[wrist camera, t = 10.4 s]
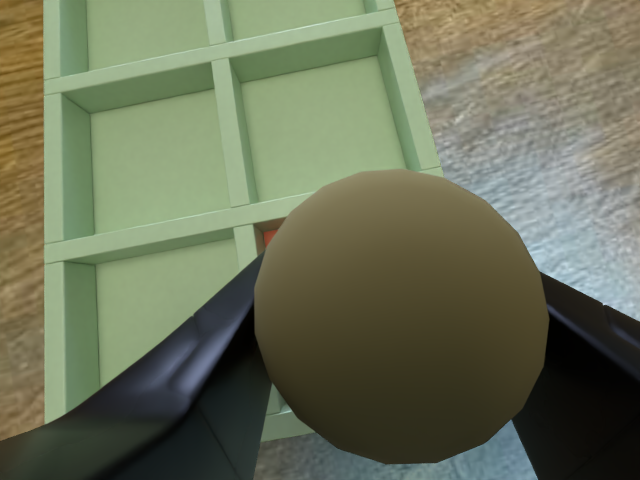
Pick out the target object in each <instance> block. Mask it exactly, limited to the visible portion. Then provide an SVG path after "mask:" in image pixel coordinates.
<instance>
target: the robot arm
mask: <svg viewBox="0 0 640 480" xmlns="http://www.w3.org/2000/svg"><path fill="white" fill-rule="evenodd" d="M265 251H266V249H265V250H264V251H263V252H262V253H261V254H260V255H258V256H257V257H256V258H255V259H254V260H253V261H252V262H251V263H250V264H248V265H247V266H246V267H245V268H244V269H243V270H242V271H241V272H239V273H238V274H237V275H236V276H235V277H234V278H233V279H232V280H231V281H229V282H228V283H227V284H226V285H225V286H224V287H223V288H222V289H220V290H219V291H218V292H217V293H216V294H215V295H214V296H213V297H212V298H210V299H209V300H208V301H207V302H206V303H205V304H204V305H203V306H201V307H200V308H199V309H198V310H197V311H196V312H195V313H194V314H193V316H194V317H193V316H190V317H189V318H188V319H187V320H186V321H185V322H183V323H182V324H181V325H180V326H179V327H178V328H177V329H175V330H174V331H173V332H172V333H171V334H170V335H168V336H167V337H166V338H165V339H164V340H163V341H161V342H160V343H159V344H158V345H156V346H155V347H154V348H152V349H151V350H150V351H149V352H147V353H146V354H145V355H144V356H142V357H141V358H140V359H139V360H137V361H136V362H135V363H133V364H132V365H131V366H129V367H128V368H127V369H125V370H124V371H123V372H121V373H120V374H119V375H118V376H116V377H115V378H114V379H112V380H111V381H110V382H108V383H107V384H106V385H104V386H103V387H102V388H101V389H99V390H98V391H97V392H95V393H94V394H93V395H91V396H90V397H89V398H87V399H86V400H85V401H83V402H82V403H81V404H79V405H78V406H76V407H75V408H74V409H72V410H71V411H69V412H67V413H66V414H64V415H62V416H61V417H59V418H57V419H55V420H53V421H51V422H49V423H47V424H45V425H43V426H40V427H38V428H36V429H33V430H31V431H28V432H25V433H22V434H19V435H16V436H13V437H10V438H8V439H5V440H2V441H0V480H253V476H254V471H255V466H256V461H257V456H258V451H259V446H260V441H261V436H262V432H263V427H264V422H265V417H266V412H267V407H268V402H269V397H270V392H271V387H272V382H271V380H270V379H269V376H268V373H267V370H266V367H265V364H264V361H263V357H262V354H261V351H260V348H259V345H258V342H257V339H256V336H255V308H254V287H255V284H256V281H257V277H258V274H259V271H260V268H261V264H262V261H263V258H264V254H265ZM539 272H540V271H539ZM540 275H541V280H542V285H543V290H544V295H545V300H546V305H547V310H548V315H549V326H548V334H547V342H546V351H545V359H544V366H543V368H542V370H541V372H540V374H539V376H538V378H537V380H536V382H535V384H534V386H533V388H532V390H531V392H530V394H529V396H528V398H527V400H526V402H525V404H524V406H523V408H522V410H520V411H519V412H518V413H517V414H516V415H515V416H514V417H513V418H512V419H511V420H512V422H513V424H514V426H515V429H516V431H517V433H518V435H519V438H520V440H521V442H522V444H523V447H524V449H525V451H526V453H527V456H528V458H529V460H530V462H531V465H532V467H533V469H534V471H535V473H536V476H537V478H538V480H640V322H639V321H637V320H635V319H633V318H631V317H629V316H627V315H625V314H623V313H621V312H619V311H617V310H615V309H613V308H611V307H609V306H607V305H603V304H602V303H601V302H599V301H597V300H595V299H593V298H591V297H589V296H587V295H585V294H583V293H581V292H579V291H577V290H576V289H574V288H572V287H570V286H568V285H566V284H564V283H562V282H560V281H558V280H556V279H554V278H552V277H550V276H548V275H546V274H544V273H542V272H540Z"/></svg>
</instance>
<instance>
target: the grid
mask: <svg viewBox="0 0 640 480" xmlns="http://www.w3.org/2000/svg"><path fill="white" fill-rule="evenodd" d="M43 1H44V96H45V97H44V243H45V244H46V245H44V264H46V265H45V266H44V339H45V424H47V423H49V422H51V421H53V420H55V419H57V418H59V417H61V416H62V415H64V414H66V413H67V412H69V411H71V410H72V409H74V408H75V407H76V406H78V405H79V404H81V403H82V402H83V401H85V400H86V399H87V398H89V397H90V396H91V395H93V394H94V393H95V392H97V391H98V390H99V389H101V388H102V387H103V386H104V385H106V384H107V383H108V382H110V381H111V380H112V379H114V378H115V377H116V376H118V375H119V374H120V373H121V372H123V371H124V370H125V369H127V368H128V367H129V366H131V365H132V364H133V363H135V362H136V361H137V360H139V359H140V358H141V357H142V356H144V355H145V354H146V353H147V352H149V351H150V350H151V349H152V348H154V347H155V346H156V345H158V344H159V343H160V342H161V341H163V340H164V339H165V338H166V337H167V336H168V335H170V334H171V333H172V332H173V331H174V330H175V329H177V328H178V327H179V326H180V325H181V324H182V323H183V322H185V321H186V320H187V319H188V318H189V317H190V316H193V314H194V313H195V312H196V311H197V310H198V309H199V308H200V307H201V306H203V305H204V304H205V303H206V302H207V301H208V300H209V299H210V298H212V297H213V296H214V295H215V294H216V293H217V292H218V291H219V290H220V289H222V288H223V287H224V286H225V285H226V284H227V283H228V282H229V281H231V280H232V279H233V278H234V277H235V276H236V275H237V274H238V273H239V272H241V271H242V270H243V269H244V268H245V267H246V266H247V265H248V264H250V263H251V262H252V261H253V260H254V259H255V258H256V257H257V256H258V255H260V254H261V253H262V252H263V251H264V250H265V249H266V248H267V245H268V244H269V243H270V241H271V240H272V238H273V237H274V235H275V234H276V232H277V231H278V229H279V228H280V226H281V225H282V224H283V222H284V221H285V219H286V218H287V216H288V215H289V213H290V212H291V211H292V210H293V209H295V208H296V207H297V206H298V205H300V204H301V203H302V202H303V201H305V200H306V199H307V198H309V197H310V196H311V195H312V194H314V193H315V192H316V191H317V190H319V189H320V188H321V187H323V186H325V185H327V184H330V183H333V182H335V181H338V180H340V179H343V178H346V177H348V176H351V175H353V174H356V173H359V172H362V171H376V170H389V169H407V170H411V171H416V172H420V173H425V174H430V175H434V176H439V177H443V178H444V175H443V171H442V168H441V164H440V160H439V157H438V153H437V150H436V146H435V143H434V139H433V136H432V133H431V129H430V126H429V122H428V119H427V115H426V112H425V108H424V105H423V101H422V98H421V94H420V91H419V87H418V84H417V80H416V77H415V73H414V70H413V66H412V63H411V59H410V56H409V52H408V49H407V45H406V42H405V39H404V35H403V32H402V28H401V25H400V22H399V18H398V15H397V11H396V9H395V4H394V1H393V0H43ZM193 317H194V316H193ZM310 433H316V432H315V431H314V430H312V429H311V428H310V427H308V426H307V425H306V424H304V423H303V422H302V421H300V420H299V419H298V418H297V417H296V416H295V414H294V413H293V411H292V410H291V408H290V407H289V406H288V404H287V403H286V401H285V400H284V399H283V397H282V396H281V394H280V393H279V391H278V390H277V389H276V387H275V386H274V384H273V383H272V387H271V392H270V397H269V402H268V407H267V412H266V417H265V422H264V427H263V432H262V436H261V441H260V443H261V442H266V441H272V440H277V439H283V438H288V437H294V436H299V435H305V434H310Z"/></svg>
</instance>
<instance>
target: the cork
mask: <svg viewBox="0 0 640 480" xmlns="http://www.w3.org/2000/svg"><path fill="white" fill-rule="evenodd" d="M254 308H255V336H256V339H257V342H258V345H259V348H260V351H261V354H262V357H263V361H264V364H265V367H266V370H267V373H268V376H269V379H270V380H271V382H272V383H273V384H274V386H275V387H276V389H277V390H278V391H279V393H280V394H281V396H282V397H283V399H284V400H285V401H286V403H287V404H288V406H289V407H290V408H291V410H292V411H293V413H294V414H295V416H296V417H297V418H298V419H299V420H300V421H302V422H303V423H304V424H306V425H307V426H308V427H310V428H311V429H312V430H314V431H315V432H316V433H318V434H319V435H320V436H322V437H323V438H324V439H326V440H327V441H328V442H330V443H331V444H332V445H334V446H335V447H336V448H338V449H341V450H344V451H347V452H350V453H353V454H356V455H359V456H362V457H365V458H368V459H371V460H374V461H377V462H380V463H383V464H419V463H438V462H440V461H443V460H445V459H448V458H450V457H453V456H455V455H458V454H460V453H462V452H465V451H467V450H470V449H472V448H475V447H477V446H480V445H482V444H484V443H486V442H487V441H488V440H489V439H490V438H491V437H493V436H494V435H495V434H496V433H497V432H498V431H499V430H500V429H501V428H502V427H503V426H504V425H505V424H506V423H508V422H509V421H510V420H511V419H512V418H513V417H514V416H515V415H516V414H517V413H518V412H519V411H520V410H522V408H523V406H524V404H525V402H526V400H527V398H528V396H529V394H530V392H531V390H532V388H533V386H534V384H535V382H536V380H537V378H538V376H539V374H540V372H541V370H542V368H543V366H544V359H545V351H546V342H547V334H548V326H549V315H548V310H547V305H546V300H545V295H544V290H543V285H542V280H541V275H540V272H539V270H538V268H537V267H536V265H535V263H534V261H533V259H532V257H531V256H530V254H529V252H528V250H527V248H526V246H525V245H524V243H523V241H522V239H521V237H520V235H519V234H518V232H517V231H516V230H515V229H514V228H513V227H512V226H511V225H510V224H509V223H508V222H507V221H506V220H505V219H504V218H503V217H502V216H501V215H500V214H499V213H498V212H497V211H496V210H495V209H494V208H493V207H492V206H491V205H490V204H489V203H487V202H486V201H485V200H484V199H482V198H480V197H479V196H477V195H475V194H473V193H471V192H469V191H468V190H466V189H464V188H462V187H460V186H458V185H457V184H455V183H453V182H451V181H449V180H447V179H446V178H443V177H439V176H434V175H430V174H425V173H420V172H416V171H411V170H407V169H389V170H376V171H362V172H359V173H356V174H353V175H351V176H348V177H346V178H343V179H340V180H338V181H335V182H333V183H330V184H327V185H325V186H323V187H321V188H320V189H319V190H317V191H316V192H315V193H314V194H312V195H311V196H310V197H309V198H307V199H306V200H305V201H303V202H302V203H301V204H300V205H298V206H297V207H296V208H295V209H293V210H292V211H291V212H290V213H289V215H288V216H287V218H286V219H285V221H284V222H283V224H282V225H281V226H280V228H279V229H278V231H277V232H276V234H275V235H274V237H273V238H272V240H271V241H270V243H269V244H268V245H267V248H266V251H265V254H264V258H263V261H262V264H261V268H260V271H259V274H258V277H257V281H256V284H255V287H254Z"/></svg>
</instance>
